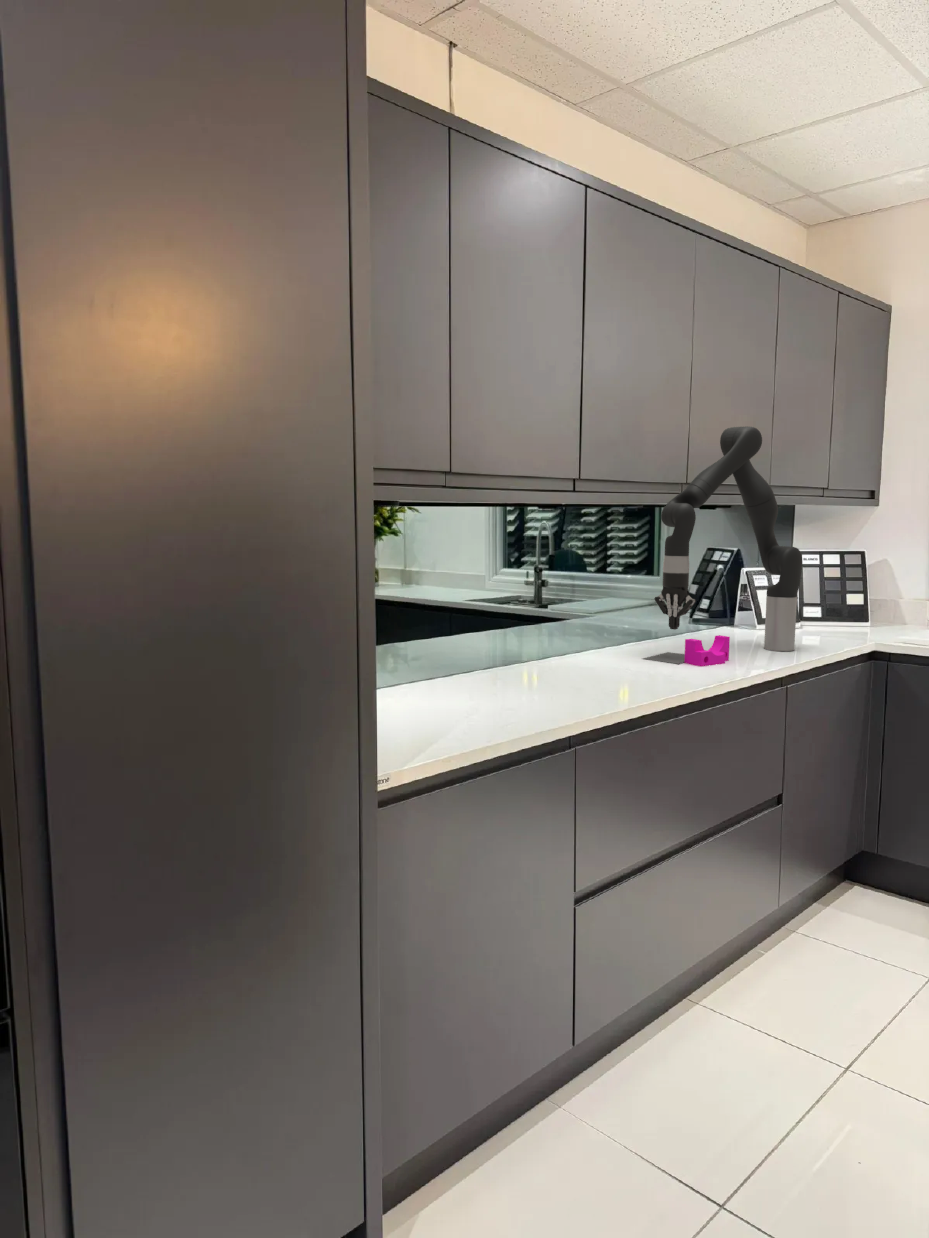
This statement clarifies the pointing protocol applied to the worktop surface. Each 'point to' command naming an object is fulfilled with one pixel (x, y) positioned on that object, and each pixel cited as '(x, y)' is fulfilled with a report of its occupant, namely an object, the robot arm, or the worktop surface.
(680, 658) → the rubber mat
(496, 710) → the worktop surface
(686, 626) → the worktop surface
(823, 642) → the worktop surface
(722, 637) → the magenta pipe clamp
